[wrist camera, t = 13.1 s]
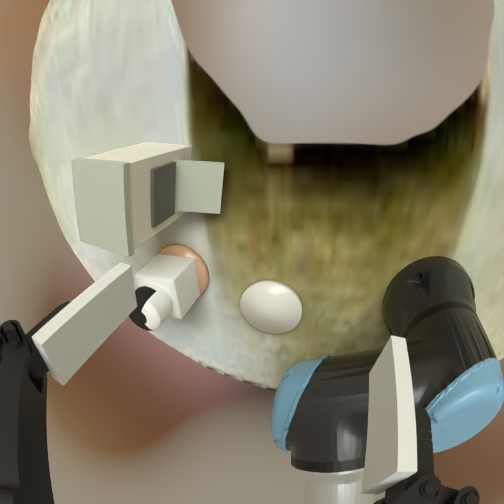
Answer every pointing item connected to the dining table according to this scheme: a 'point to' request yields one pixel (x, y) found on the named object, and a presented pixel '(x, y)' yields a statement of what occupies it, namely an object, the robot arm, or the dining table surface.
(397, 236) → the dining table surface
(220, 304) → the dining table surface
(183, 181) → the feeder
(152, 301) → the medicine bottle
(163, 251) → the peach round disc
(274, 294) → the white domed round part
